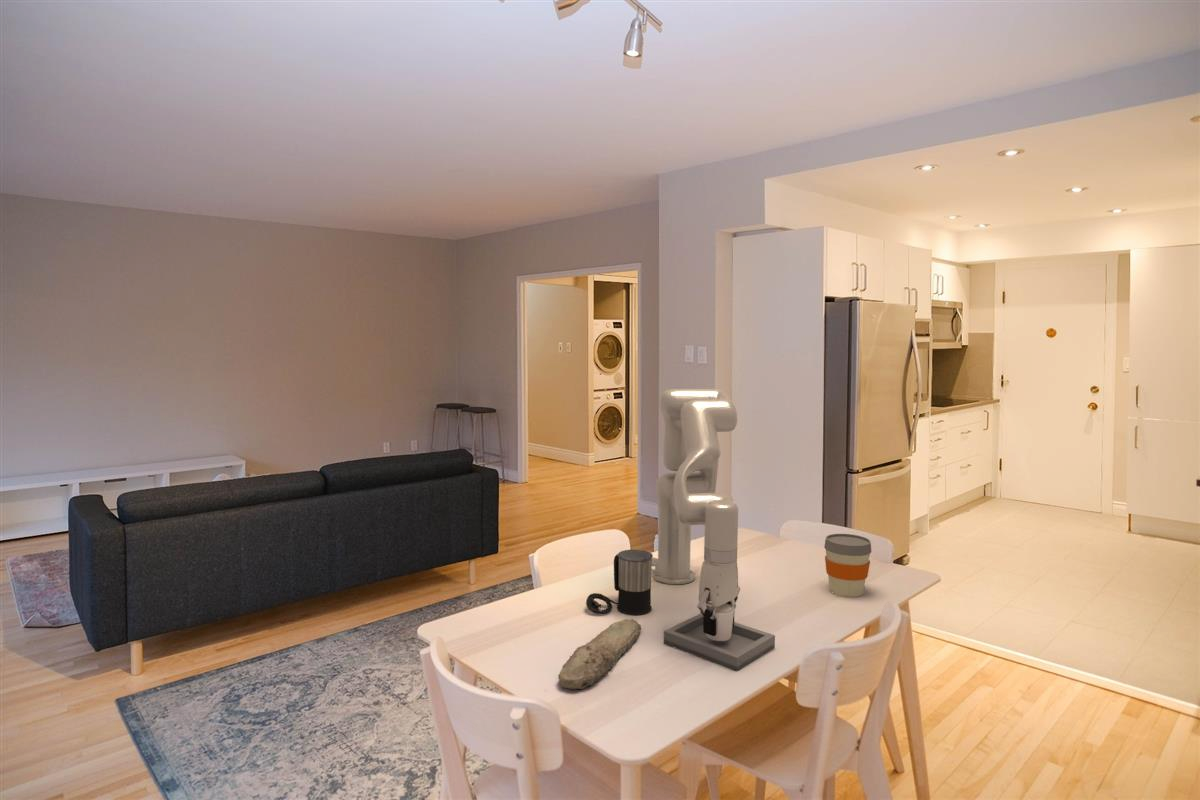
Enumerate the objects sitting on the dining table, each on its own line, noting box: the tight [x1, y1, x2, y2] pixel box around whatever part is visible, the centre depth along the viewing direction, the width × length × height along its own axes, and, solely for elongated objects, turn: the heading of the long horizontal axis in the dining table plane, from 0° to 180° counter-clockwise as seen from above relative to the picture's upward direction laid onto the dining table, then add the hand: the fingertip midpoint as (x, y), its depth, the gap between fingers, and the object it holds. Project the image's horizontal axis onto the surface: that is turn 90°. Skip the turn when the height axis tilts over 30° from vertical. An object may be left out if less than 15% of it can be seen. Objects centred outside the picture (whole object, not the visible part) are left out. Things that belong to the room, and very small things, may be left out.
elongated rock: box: [558, 618, 642, 690], centre depth 159 cm, size 35×5×10 cm
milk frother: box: [585, 548, 654, 616], centre depth 186 cm, size 14×16×15 cm
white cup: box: [706, 601, 735, 641], centre depth 165 cm, size 7×7×7 cm
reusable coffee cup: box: [824, 533, 872, 598], centre depth 201 cm, size 12×13×15 cm
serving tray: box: [663, 612, 776, 672], centre depth 165 cm, size 20×16×3 cm
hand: (718, 628), depth 165 cm, fingers closed on white cup, 6 cm apart
